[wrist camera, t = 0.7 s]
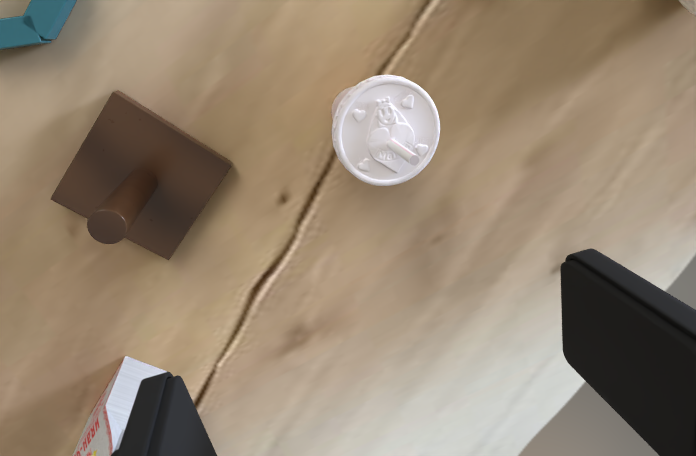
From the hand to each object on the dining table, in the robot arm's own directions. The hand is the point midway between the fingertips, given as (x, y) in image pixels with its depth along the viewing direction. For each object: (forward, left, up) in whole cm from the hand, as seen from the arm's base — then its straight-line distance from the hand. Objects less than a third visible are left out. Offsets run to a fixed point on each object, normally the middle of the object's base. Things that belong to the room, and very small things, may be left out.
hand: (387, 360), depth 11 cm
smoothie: (-5, +3, -27) cm, 28 cm away
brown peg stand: (+8, -7, -27) cm, 29 cm away
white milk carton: (+26, +1, -27) cm, 38 cm away
